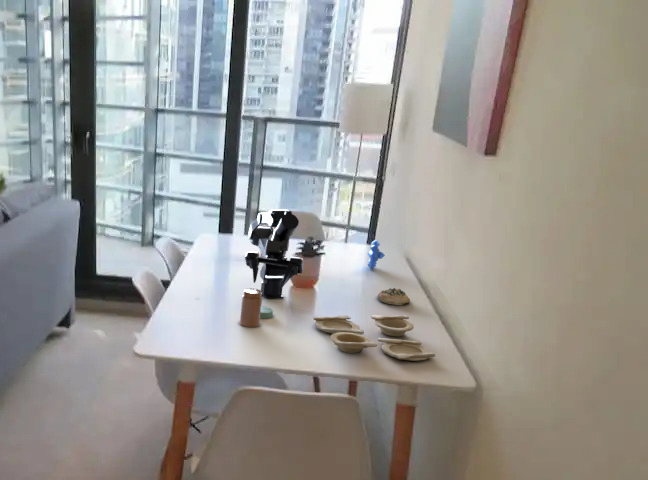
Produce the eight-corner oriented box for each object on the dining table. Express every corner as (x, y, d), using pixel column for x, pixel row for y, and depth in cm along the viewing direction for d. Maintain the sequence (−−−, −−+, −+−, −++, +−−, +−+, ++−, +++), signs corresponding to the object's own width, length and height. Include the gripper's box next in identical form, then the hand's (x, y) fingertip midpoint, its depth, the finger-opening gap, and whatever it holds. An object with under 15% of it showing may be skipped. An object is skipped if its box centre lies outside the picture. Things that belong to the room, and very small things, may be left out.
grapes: (381, 273, 286) (386, 243, 281) (363, 271, 288) (368, 241, 283) (383, 266, 296) (388, 237, 291) (366, 264, 298) (371, 236, 293)
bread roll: (382, 293, 258) (386, 280, 256) (412, 303, 253) (416, 290, 250) (371, 301, 250) (375, 288, 247) (402, 312, 245) (406, 299, 242)
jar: (254, 320, 225) (257, 287, 221) (262, 326, 219) (266, 293, 215) (236, 321, 223) (239, 288, 219) (244, 327, 218) (247, 294, 214)
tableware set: (310, 319, 228) (311, 307, 226) (402, 323, 228) (404, 311, 226) (332, 360, 196) (334, 346, 194) (440, 366, 196) (443, 352, 194)
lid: (249, 316, 228) (250, 311, 227) (252, 310, 234) (253, 305, 233) (271, 319, 226) (271, 313, 226) (273, 313, 232) (274, 307, 231)
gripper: (249, 226, 234) (237, 267, 229) (306, 233, 228) (295, 275, 223) (252, 245, 244) (241, 285, 239) (307, 252, 237) (297, 293, 232)
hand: (268, 284), depth 233 cm, fingers open, 9 cm apart
